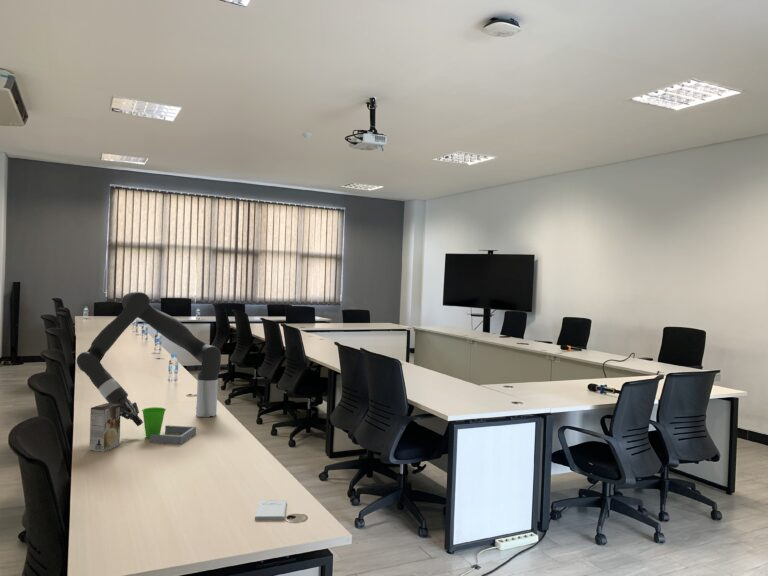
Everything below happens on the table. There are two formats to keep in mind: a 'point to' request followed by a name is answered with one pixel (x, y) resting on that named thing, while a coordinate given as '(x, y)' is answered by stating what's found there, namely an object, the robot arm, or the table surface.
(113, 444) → the coffee box
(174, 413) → the table surface
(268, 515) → the external hard drive
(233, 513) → the table surface
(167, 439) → the grey cradle
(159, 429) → the cup
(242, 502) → the table surface
